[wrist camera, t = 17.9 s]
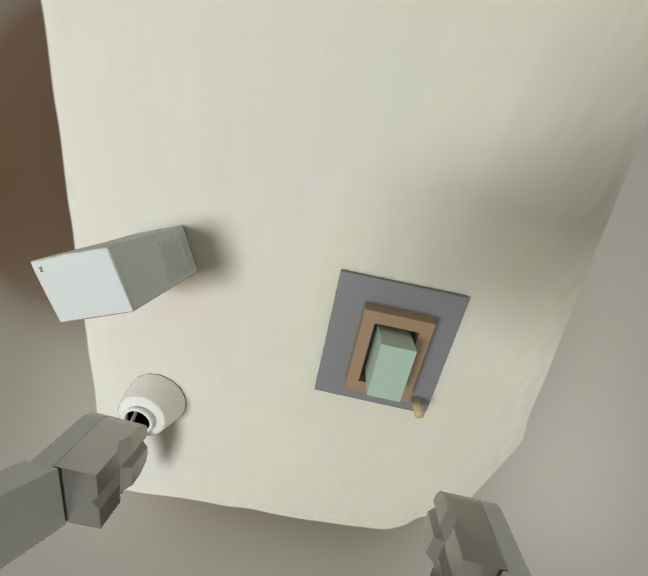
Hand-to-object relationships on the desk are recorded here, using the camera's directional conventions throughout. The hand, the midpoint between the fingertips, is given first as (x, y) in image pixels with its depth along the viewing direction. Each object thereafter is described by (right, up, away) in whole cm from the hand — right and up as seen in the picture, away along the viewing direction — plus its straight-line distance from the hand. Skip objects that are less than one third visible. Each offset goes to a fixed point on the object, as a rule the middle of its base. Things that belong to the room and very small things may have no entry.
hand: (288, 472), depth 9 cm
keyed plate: (+9, -2, +33) cm, 34 cm away
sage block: (+9, -3, +32) cm, 34 cm away
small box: (-20, +10, +32) cm, 39 cm away
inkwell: (-26, -16, +42) cm, 52 cm away
